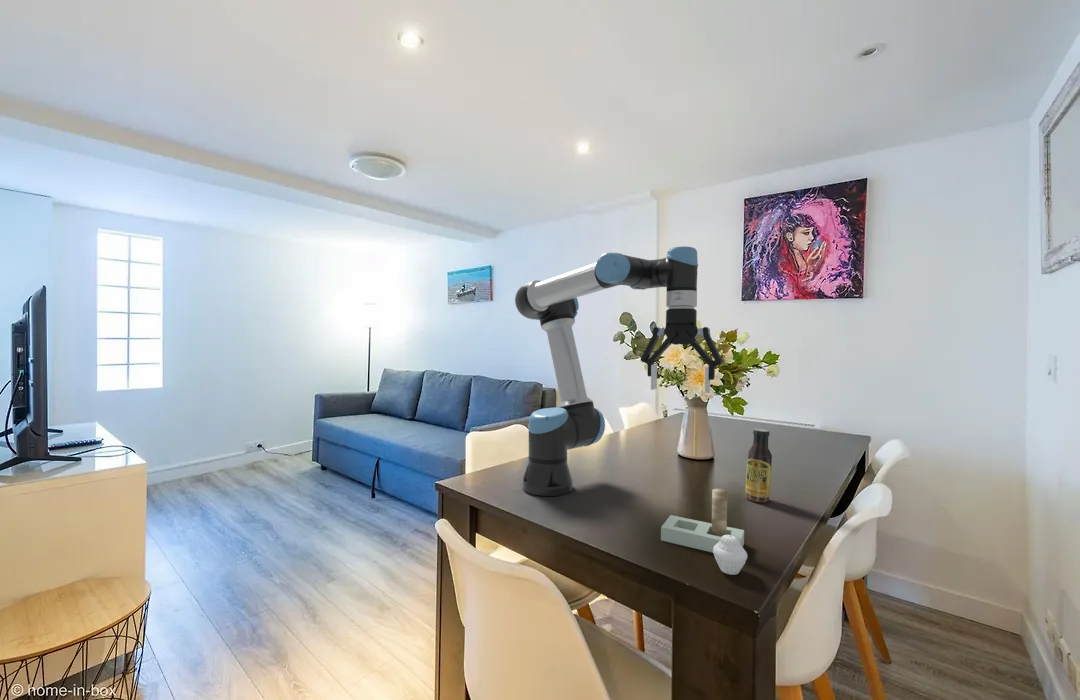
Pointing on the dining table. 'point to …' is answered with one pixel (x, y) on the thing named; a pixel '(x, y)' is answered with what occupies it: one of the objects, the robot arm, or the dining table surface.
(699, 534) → the hole block
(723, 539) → the muffin
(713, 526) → the peg
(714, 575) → the dining table surface
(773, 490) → the dining table surface
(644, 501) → the dining table surface
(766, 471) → the sauce bottle
